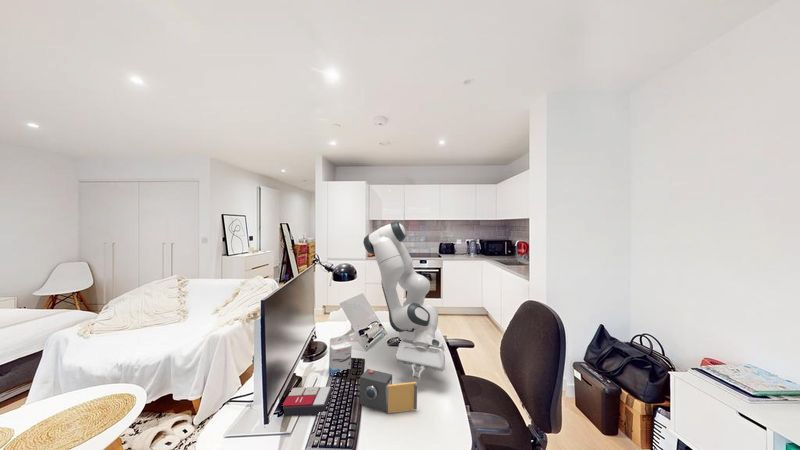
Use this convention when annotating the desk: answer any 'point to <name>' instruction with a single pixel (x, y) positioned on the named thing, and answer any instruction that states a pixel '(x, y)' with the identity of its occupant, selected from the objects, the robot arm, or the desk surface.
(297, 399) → the calculator
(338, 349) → the ink box
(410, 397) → the side door
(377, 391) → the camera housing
